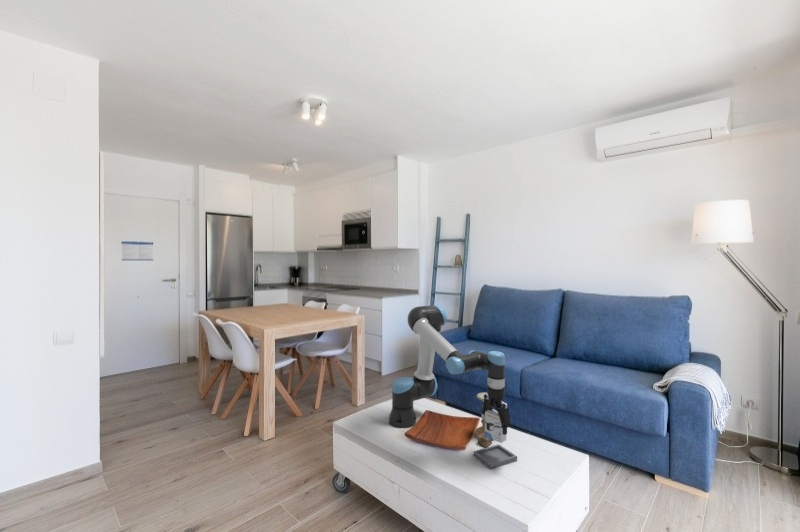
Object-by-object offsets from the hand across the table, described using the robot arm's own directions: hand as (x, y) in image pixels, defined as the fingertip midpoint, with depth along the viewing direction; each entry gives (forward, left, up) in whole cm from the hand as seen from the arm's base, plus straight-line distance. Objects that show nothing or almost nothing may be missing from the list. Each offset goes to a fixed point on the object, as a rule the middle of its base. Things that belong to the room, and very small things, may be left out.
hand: (495, 435), depth 168 cm
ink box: (0, 0, -1) cm, 1 cm away
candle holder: (-19, +11, -10) cm, 24 cm away
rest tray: (0, 0, -10) cm, 10 cm away
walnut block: (-12, +4, -10) cm, 16 cm away
